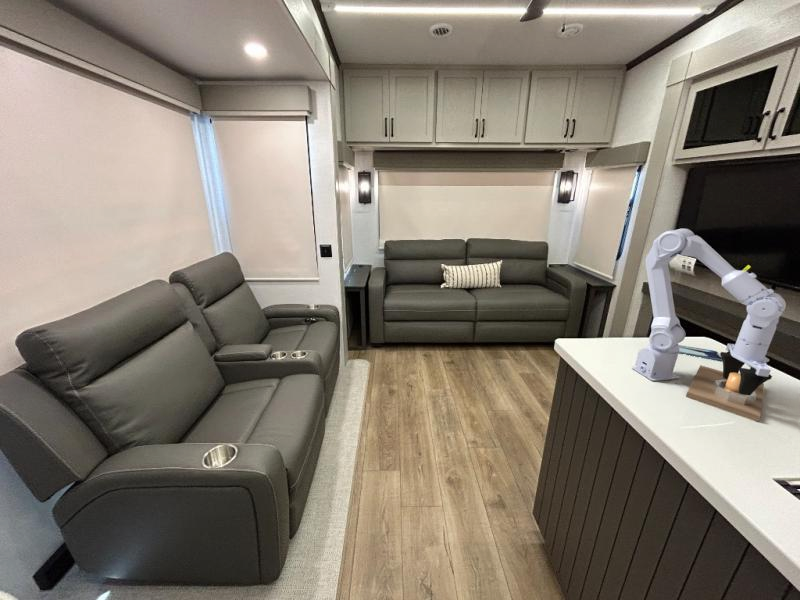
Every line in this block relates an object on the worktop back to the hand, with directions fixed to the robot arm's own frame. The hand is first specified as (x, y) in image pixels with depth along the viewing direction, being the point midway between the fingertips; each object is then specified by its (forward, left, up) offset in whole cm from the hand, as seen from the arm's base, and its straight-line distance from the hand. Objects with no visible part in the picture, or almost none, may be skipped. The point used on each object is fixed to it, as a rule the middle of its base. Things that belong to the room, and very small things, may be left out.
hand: (735, 386), depth 89 cm
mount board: (+3, +3, -4) cm, 6 cm away
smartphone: (+18, +25, -5) cm, 31 cm away
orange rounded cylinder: (0, 0, -3) cm, 3 cm away
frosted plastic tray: (0, 0, -3) cm, 3 cm away
